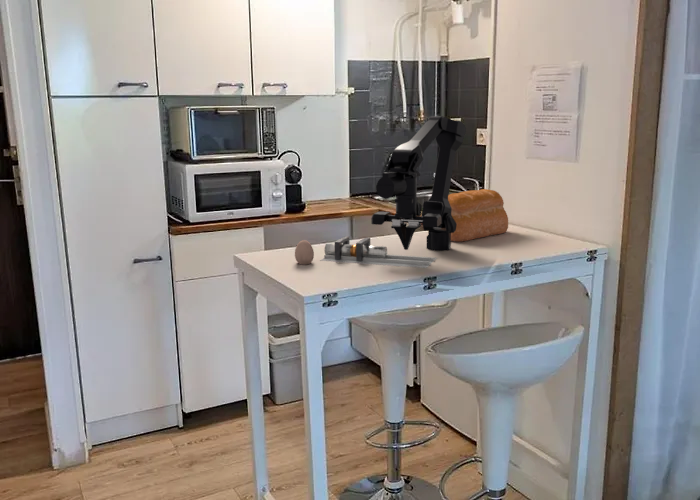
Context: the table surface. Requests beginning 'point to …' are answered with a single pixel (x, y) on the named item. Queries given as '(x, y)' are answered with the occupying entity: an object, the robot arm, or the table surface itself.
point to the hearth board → (387, 260)
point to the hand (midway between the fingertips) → (406, 249)
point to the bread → (477, 214)
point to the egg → (304, 252)
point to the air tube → (351, 250)
